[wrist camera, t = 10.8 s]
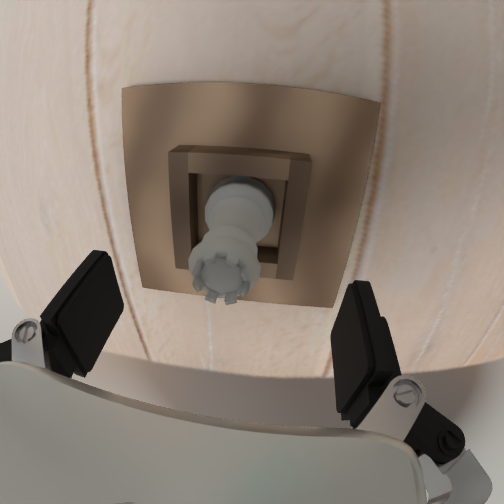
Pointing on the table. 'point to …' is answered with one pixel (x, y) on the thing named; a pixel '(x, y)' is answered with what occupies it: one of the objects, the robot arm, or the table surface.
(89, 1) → the table surface
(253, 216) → the rook chess piece
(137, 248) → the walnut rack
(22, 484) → the robot arm
